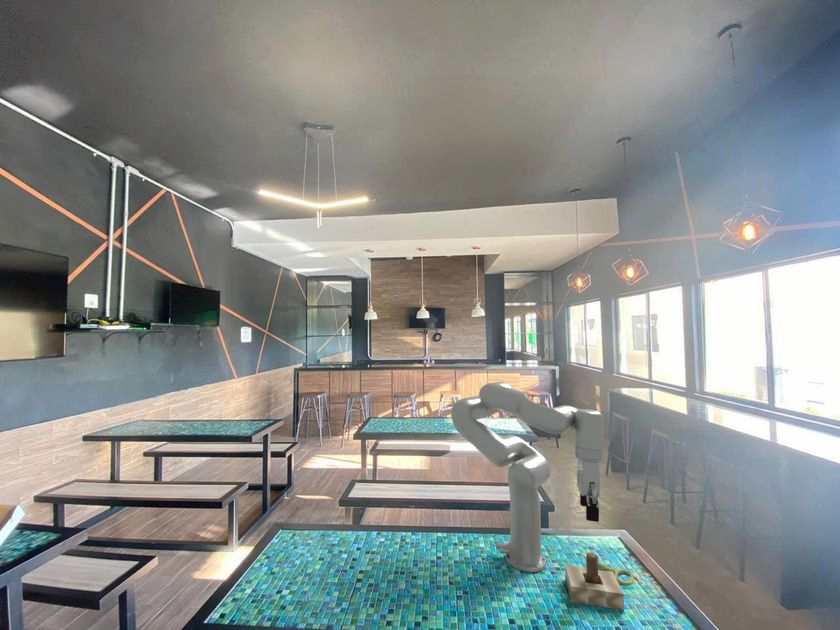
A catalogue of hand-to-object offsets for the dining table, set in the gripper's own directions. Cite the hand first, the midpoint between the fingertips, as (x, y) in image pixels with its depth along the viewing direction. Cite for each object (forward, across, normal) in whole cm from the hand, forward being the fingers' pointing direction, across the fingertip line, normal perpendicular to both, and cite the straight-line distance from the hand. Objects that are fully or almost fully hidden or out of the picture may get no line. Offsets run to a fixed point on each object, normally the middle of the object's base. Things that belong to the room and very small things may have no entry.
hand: (589, 513), depth 108 cm
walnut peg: (+21, +2, 0) cm, 21 cm away
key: (+22, -10, +8) cm, 25 cm away
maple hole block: (+21, +2, 0) cm, 21 cm away
